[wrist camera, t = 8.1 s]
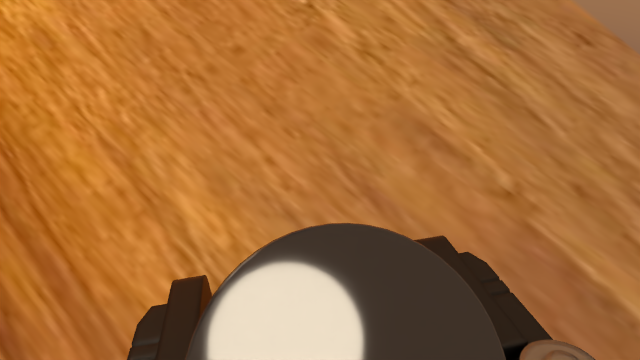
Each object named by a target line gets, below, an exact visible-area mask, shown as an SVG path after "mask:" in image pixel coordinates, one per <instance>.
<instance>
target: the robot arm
mask: <svg viewBox="0 0 640 360" xmlns="http://www.w3.org/2000/svg"><path fill="white" fill-rule="evenodd" d="M414 241H416V242H418V243H420V244H422V245H423V246H425V247H426V248H428V249H429V250H431V251H432V252H434V253H435V254H437V255H438V256H439V257H441V258H442V259H443V260H444V261H445V262H446V263H448V264H449V265H450V266H451V267H452V268H453V269H455V271H456V272H457V273H458V274H459V275H460V276H461V277H462V278H463V279H464V280H465V281H466V283H467V284H468V285H469V286H470V288H471V289H472V290H473V292H474V293H475V294H476V296H477V297H478V299H479V300H480V301H481V303H482V305H483V306H484V308H485V310H486V312H487V313H488V315H489V317H490V319H491V320H492V323H493V325H494V327H495V330H496V332H497V334H498V337H499V339H500V341H501V344H502V348H503V351H504V354H505V358H506V360H595V359H594V358H593V357H592V356H590V355H589V354H588V353H586V352H585V351H583V350H582V349H580V348H578V347H576V346H574V345H571V344H568V343H565V342H561V341H556V340H553V339H552V338H551V337H550V336H549V334H548V333H547V332H546V331H545V330H544V329H543V328H542V326H541V325H540V324H539V323H538V322H537V321H536V319H535V318H534V317H533V316H532V315H531V314H530V313H529V311H528V310H527V309H526V308H525V307H524V306H523V304H522V303H521V302H520V301H519V300H518V299H517V297H516V296H515V295H514V294H513V293H510V290H509V288H508V287H507V286H506V285H505V284H504V282H503V281H502V280H499V277H498V276H497V274H496V273H495V272H494V271H493V270H492V269H491V267H490V266H489V265H488V264H487V263H486V262H484V261H483V260H481V259H479V258H477V257H476V256H474V255H472V254H471V253H469V252H464V253H458V252H457V251H456V250H455V248H454V247H453V246H452V245H451V243H450V242H449V241H448V240H447V238H446V237H444V236H437V237H431V238H425V239H419V240H414ZM211 297H212V294H211V290H210V286H209V282H208V279H207V277H206V275H203V276H197V277H191V278H185V279H179V280H174V281H173V282H172V285H171V289H170V294H169V298H168V303H167V304H163V305H158V306H152V307H151V308H150V309H149V310H148V312H147V313H146V314H145V316H144V317H143V318H142V319H141V321H140V322H139V323H138V324H137V328H136V331H135V334H134V338H133V341H132V348H130V351H129V355H128V358H127V360H185V357H186V354H187V351H188V347H189V344H190V341H191V337H192V335H193V332H194V330H195V328H196V325H197V323H198V321H199V319H200V316H201V314H202V313H203V311H204V309H205V307H206V306H207V304H208V302H209V301H210V299H211Z"/></svg>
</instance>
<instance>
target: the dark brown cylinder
mask: <svg viewBox="0 0 640 360" xmlns="http://www.w3.org/2000/svg"><path fill="white" fill-rule="evenodd" d="M185 360H506V358H505V354H504V351H503V348H502V344H501V341H500V339H499V337H498V334H497V332H496V330H495V327H494V325H493V323H492V320H491V319H490V317H489V315H488V313H487V312H486V310H485V308H484V306H483V305H482V303H481V301H480V300H479V299H478V297H477V296H476V294H475V293H474V292H473V290H472V289H471V288H470V286H469V285H468V284H467V283H466V281H465V280H464V279H463V278H462V277H461V276H460V275H459V274H458V273H457V272H456V271H455V269H453V268H452V267H451V266H450V265H449V264H448V263H446V262H445V261H444V260H443V259H442V258H441V257H439V256H438V255H437V254H435V253H434V252H432V251H431V250H429V249H428V248H426V247H425V246H423V245H422V244H420V243H418V242H416V241H414V240H412V239H410V238H408V237H406V236H404V235H401V234H399V233H396V232H393V231H390V230H387V229H384V228H379V227H375V226H371V225H365V224H354V223H332V224H324V225H317V226H311V227H307V228H304V229H301V230H297V231H294V232H291V233H289V234H287V235H284V236H282V237H280V238H278V239H275V240H273V241H272V242H270V243H268V244H267V245H265V246H263V247H262V248H260V249H258V250H257V251H255V252H254V253H253V254H252V255H250V256H249V257H248V258H247V259H245V260H244V261H243V262H242V263H240V264H239V265H238V266H237V267H236V268H235V269H234V270H233V271H232V272H231V274H230V275H229V276H228V277H227V278H226V279H225V280H224V281H223V283H222V284H221V285H220V286H219V288H218V289H217V290H216V292H215V293H214V294H213V296H212V297H211V299H210V301H209V302H208V304H207V306H206V307H205V309H204V311H203V313H202V314H201V316H200V319H199V321H198V323H197V325H196V328H195V330H194V332H193V335H192V337H191V341H190V344H189V347H188V351H187V354H186V357H185Z"/></svg>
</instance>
